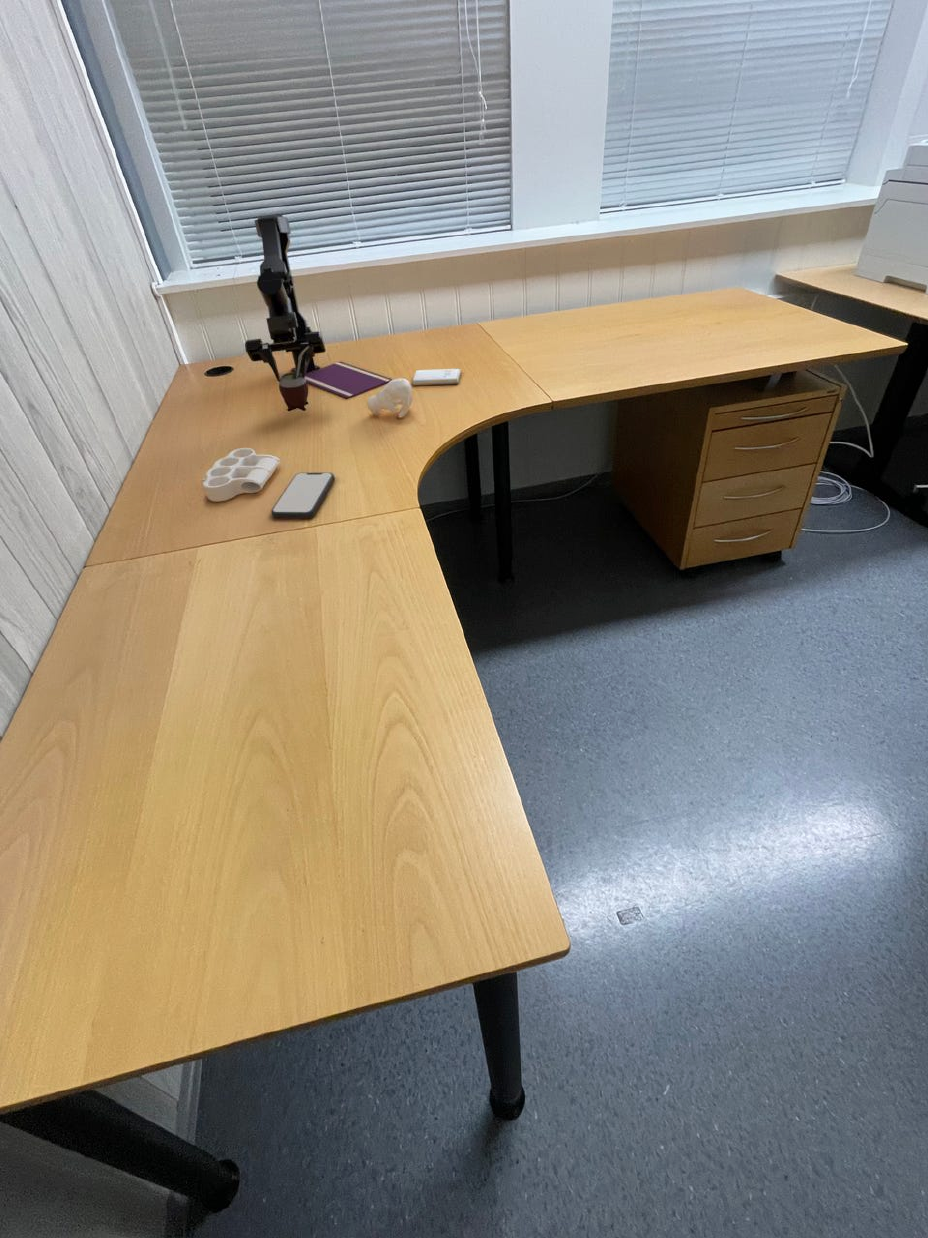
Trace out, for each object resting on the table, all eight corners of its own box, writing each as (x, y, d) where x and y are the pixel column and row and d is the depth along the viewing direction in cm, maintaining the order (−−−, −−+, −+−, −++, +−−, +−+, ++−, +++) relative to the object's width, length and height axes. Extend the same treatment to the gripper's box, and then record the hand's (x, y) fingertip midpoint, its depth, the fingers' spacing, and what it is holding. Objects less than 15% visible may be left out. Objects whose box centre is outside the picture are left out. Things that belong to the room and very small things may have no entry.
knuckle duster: (257, 501, 124) (191, 501, 126) (286, 460, 137) (226, 461, 139) (252, 487, 121) (185, 487, 123) (282, 446, 135) (221, 447, 137)
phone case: (313, 520, 117) (337, 478, 129) (311, 513, 116) (335, 471, 127) (270, 519, 118) (298, 478, 130) (268, 512, 117) (296, 471, 129)
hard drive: (417, 375, 172) (460, 373, 171) (413, 385, 166) (457, 384, 165) (417, 369, 171) (460, 367, 170) (412, 379, 165) (457, 378, 164)
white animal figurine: (405, 383, 144) (358, 388, 146) (413, 417, 149) (367, 422, 152) (410, 373, 148) (364, 379, 151) (418, 407, 154) (373, 412, 156)
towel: (296, 378, 177) (295, 376, 177) (340, 362, 185) (340, 361, 185) (347, 398, 163) (346, 397, 162) (392, 380, 170) (392, 378, 170)
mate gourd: (278, 407, 155) (264, 347, 145) (303, 398, 159) (291, 338, 149) (295, 416, 151) (282, 354, 141) (321, 405, 156) (309, 345, 145)
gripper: (233, 304, 141) (243, 368, 140) (313, 295, 142) (323, 358, 142) (247, 330, 152) (256, 389, 151) (321, 321, 153) (330, 380, 153)
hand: (291, 379), depth 149 cm, fingers closed on mate gourd, 6 cm apart
